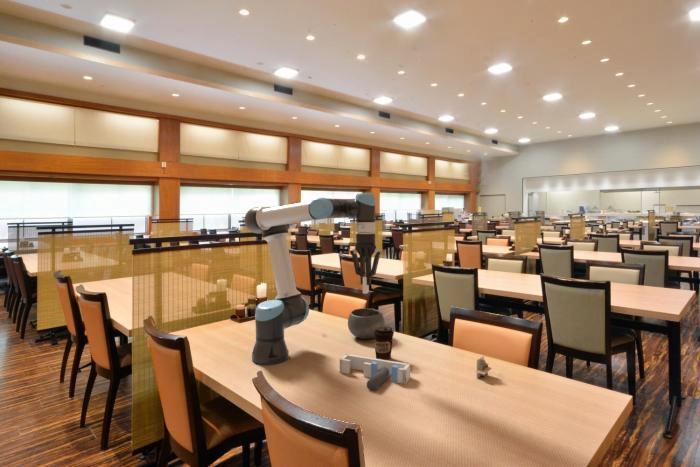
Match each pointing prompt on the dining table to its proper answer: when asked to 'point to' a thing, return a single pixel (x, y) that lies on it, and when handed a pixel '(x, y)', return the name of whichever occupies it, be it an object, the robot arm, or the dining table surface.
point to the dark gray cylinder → (377, 379)
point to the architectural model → (482, 367)
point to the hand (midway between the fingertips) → (365, 292)
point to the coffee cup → (383, 342)
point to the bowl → (365, 322)
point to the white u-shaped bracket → (375, 367)
